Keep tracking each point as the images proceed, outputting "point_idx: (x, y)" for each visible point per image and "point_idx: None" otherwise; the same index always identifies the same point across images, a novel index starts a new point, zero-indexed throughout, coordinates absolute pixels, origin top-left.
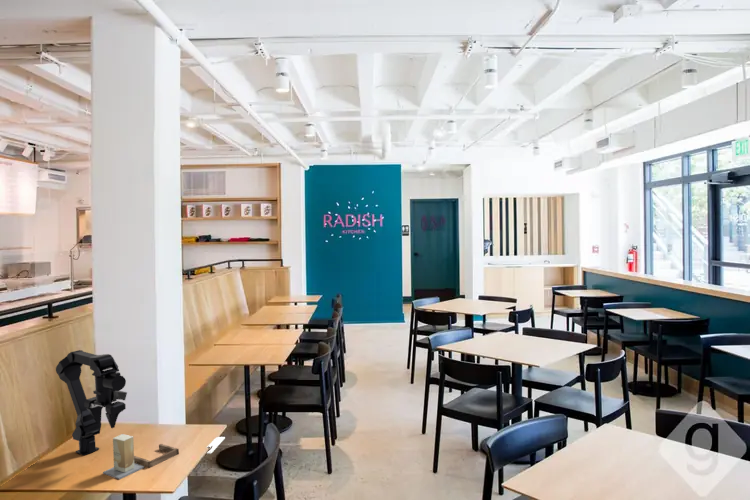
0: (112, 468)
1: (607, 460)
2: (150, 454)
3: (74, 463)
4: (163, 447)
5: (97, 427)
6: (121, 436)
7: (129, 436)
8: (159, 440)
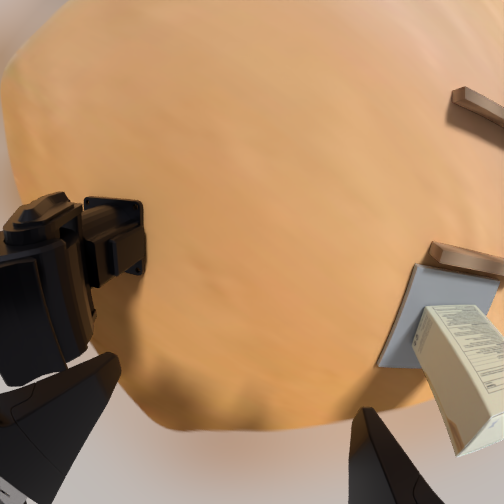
0: (397, 339)
1: None
2: (456, 161)
3: (180, 331)
4: (490, 114)
5: (72, 267)
6: (495, 431)
7: None
8: (357, 8)
